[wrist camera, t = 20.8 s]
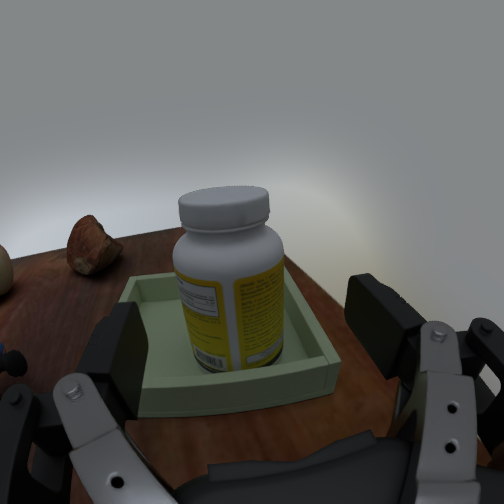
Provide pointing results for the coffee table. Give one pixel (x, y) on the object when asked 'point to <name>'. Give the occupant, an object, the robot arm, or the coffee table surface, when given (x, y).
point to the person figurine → (12, 362)
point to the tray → (227, 383)
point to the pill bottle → (230, 278)
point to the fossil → (91, 247)
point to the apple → (5, 271)
